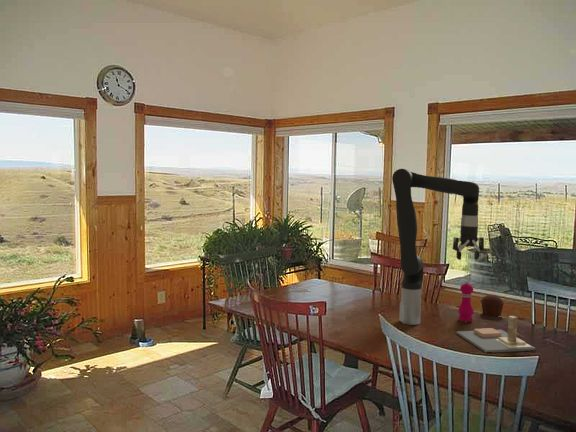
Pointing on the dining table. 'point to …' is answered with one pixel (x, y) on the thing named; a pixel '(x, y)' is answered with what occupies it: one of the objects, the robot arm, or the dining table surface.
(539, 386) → the dining table surface
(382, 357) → the dining table surface
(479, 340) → the mat
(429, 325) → the dining table surface
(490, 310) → the muffin
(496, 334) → the tile
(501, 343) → the plate
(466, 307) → the pepper mill
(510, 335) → the square plate with post
